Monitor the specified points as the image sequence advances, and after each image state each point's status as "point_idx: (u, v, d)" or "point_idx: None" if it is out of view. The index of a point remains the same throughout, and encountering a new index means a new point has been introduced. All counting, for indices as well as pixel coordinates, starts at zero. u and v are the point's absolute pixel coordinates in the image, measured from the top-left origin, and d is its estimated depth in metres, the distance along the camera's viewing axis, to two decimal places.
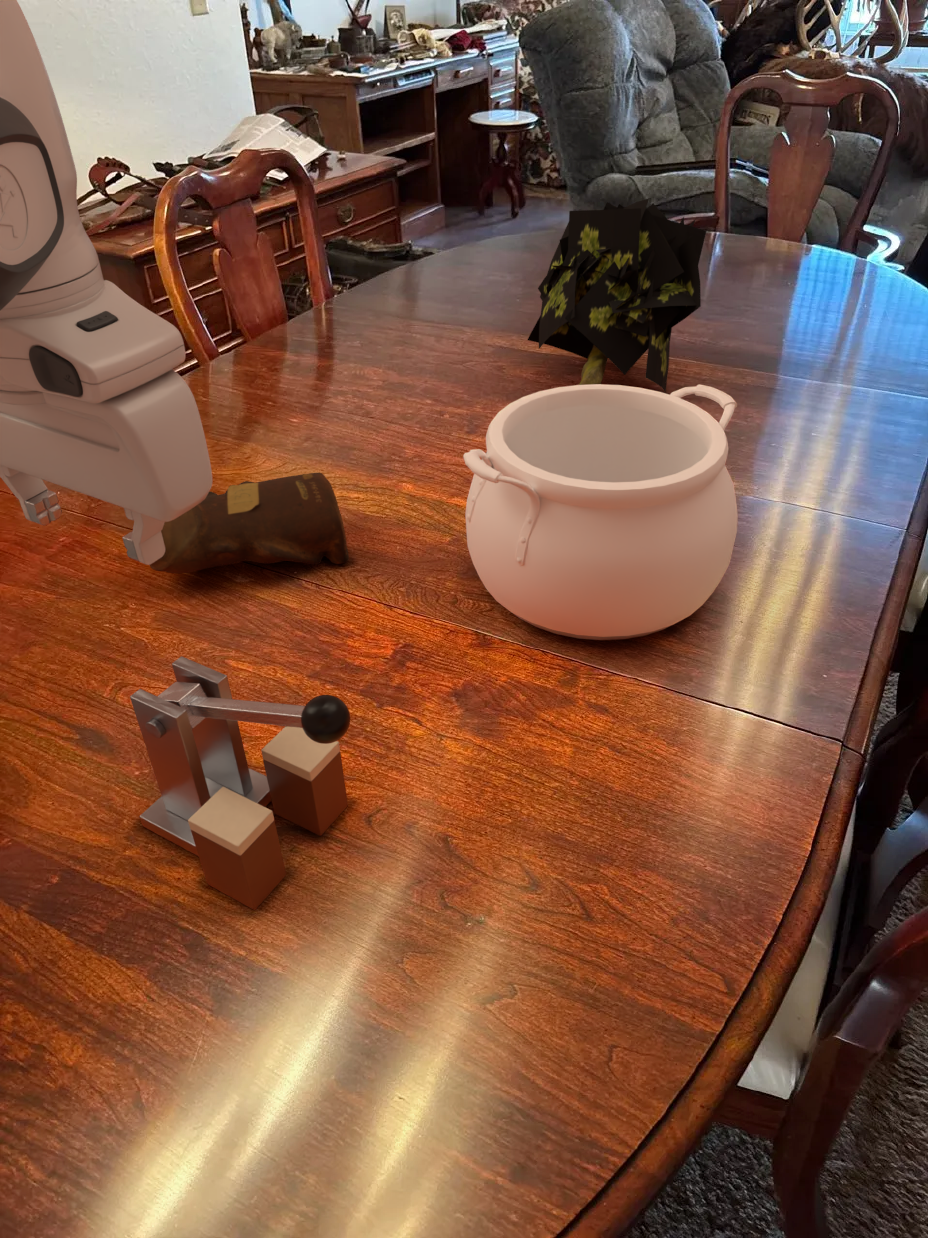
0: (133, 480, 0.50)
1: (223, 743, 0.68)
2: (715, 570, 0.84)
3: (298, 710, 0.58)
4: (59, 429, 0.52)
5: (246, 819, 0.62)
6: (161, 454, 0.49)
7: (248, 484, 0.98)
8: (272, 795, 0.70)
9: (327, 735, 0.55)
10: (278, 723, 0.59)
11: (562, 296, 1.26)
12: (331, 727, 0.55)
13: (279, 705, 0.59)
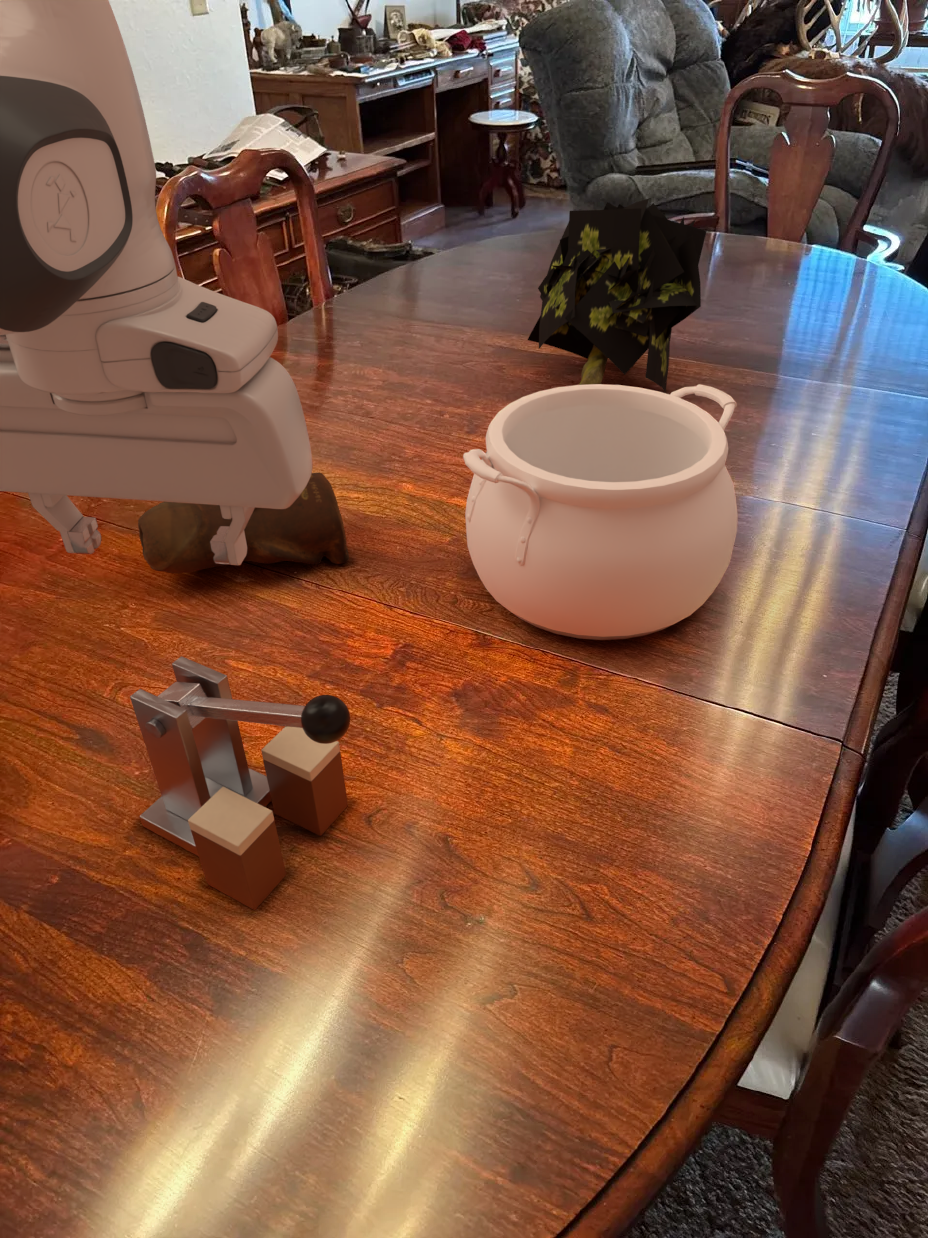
0: (251, 471, 0.49)
1: (223, 743, 0.68)
2: (715, 570, 0.84)
3: (298, 710, 0.58)
4: (147, 436, 0.49)
5: (246, 819, 0.62)
6: (286, 438, 0.48)
7: None
8: (272, 795, 0.70)
9: (327, 735, 0.55)
10: (278, 723, 0.59)
11: (562, 296, 1.26)
12: (331, 727, 0.55)
13: (279, 705, 0.59)
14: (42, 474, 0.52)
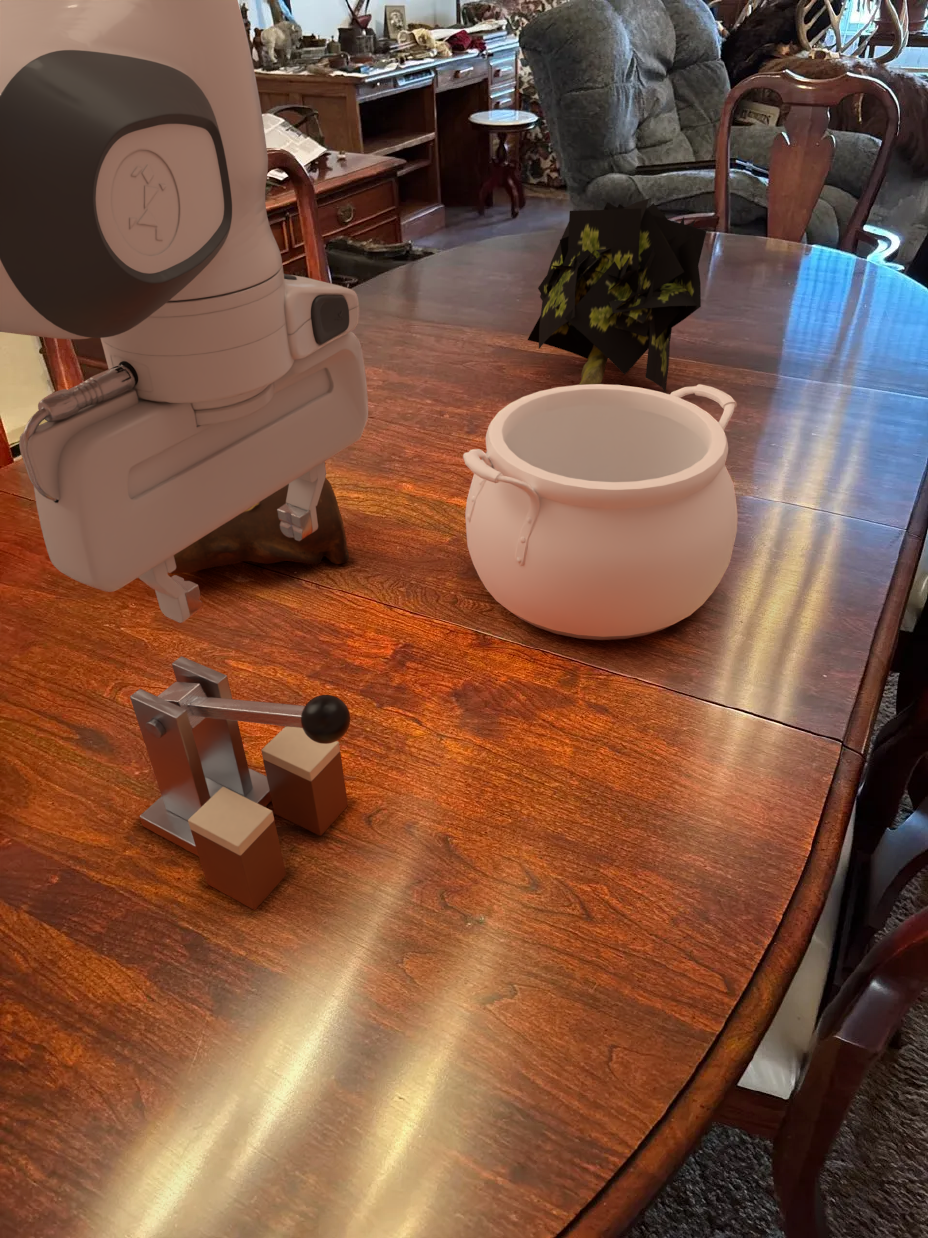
0: (343, 412, 0.53)
1: (223, 743, 0.68)
2: (715, 570, 0.84)
3: (298, 710, 0.58)
4: (267, 422, 0.48)
5: (246, 819, 0.62)
6: None
7: None
8: (272, 795, 0.70)
9: (327, 735, 0.55)
10: (278, 723, 0.59)
11: (562, 296, 1.26)
12: (331, 727, 0.55)
13: (279, 705, 0.59)
14: (184, 524, 0.45)
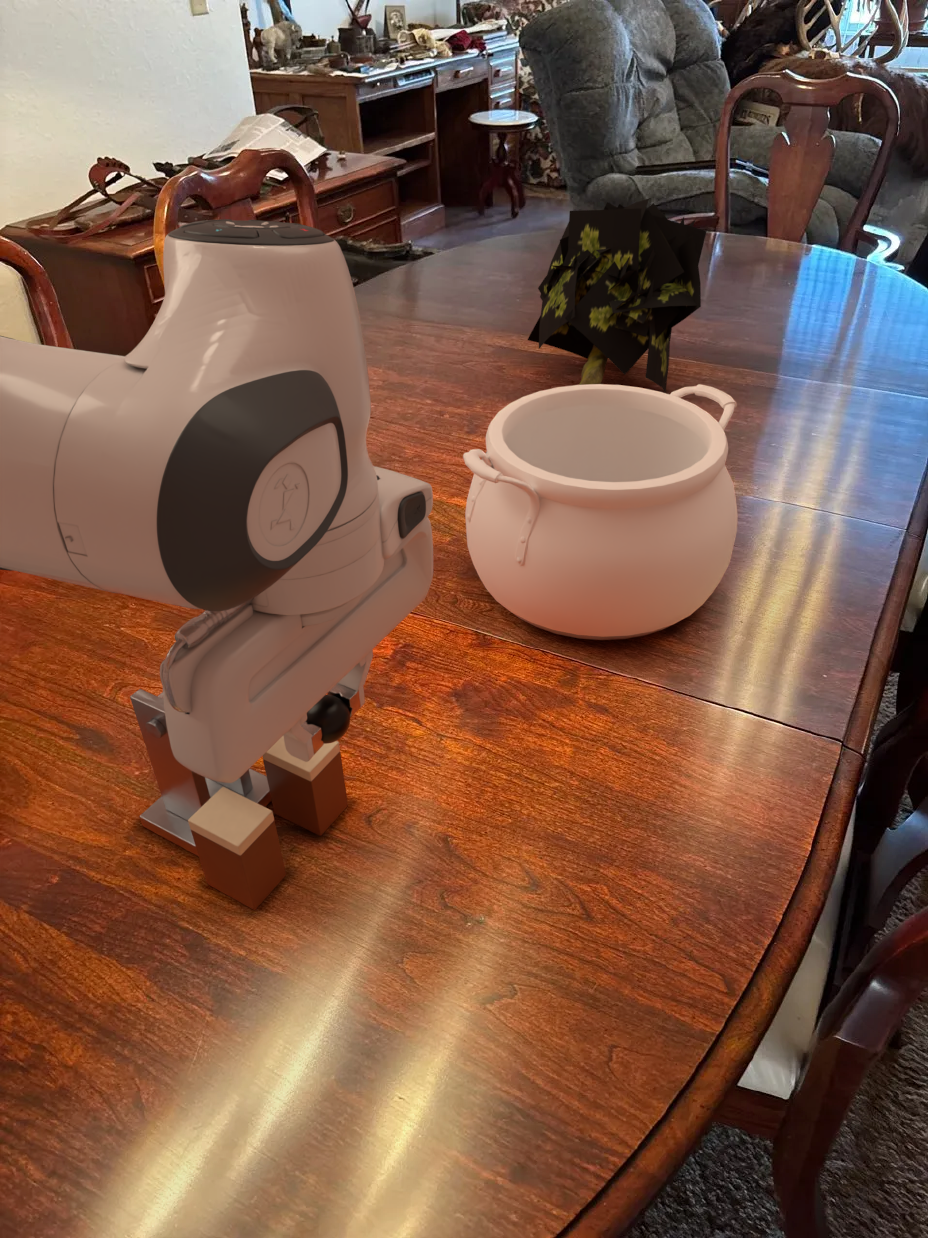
0: (413, 581, 0.57)
1: None
2: (715, 570, 0.84)
3: None
4: (354, 606, 0.53)
5: (246, 819, 0.62)
6: None
7: None
8: (272, 795, 0.70)
9: (327, 735, 0.55)
10: None
11: (562, 296, 1.26)
12: (331, 727, 0.55)
13: None
14: (289, 711, 0.50)
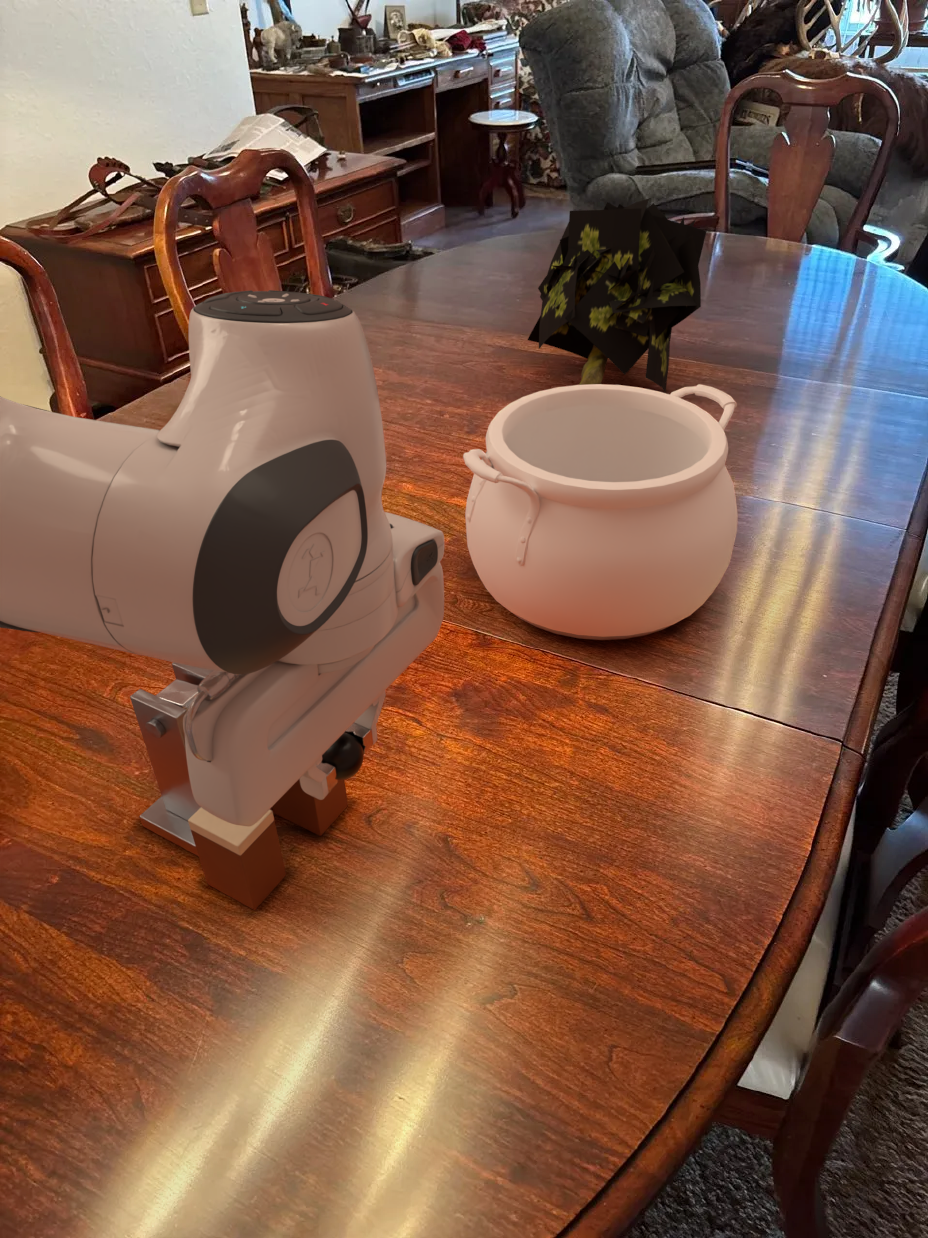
0: (425, 622, 0.59)
1: None
2: (715, 570, 0.84)
3: None
4: None
5: None
6: None
7: None
8: None
9: (342, 775, 0.57)
10: None
11: (562, 296, 1.26)
12: (347, 768, 0.57)
13: None
14: (306, 755, 0.51)
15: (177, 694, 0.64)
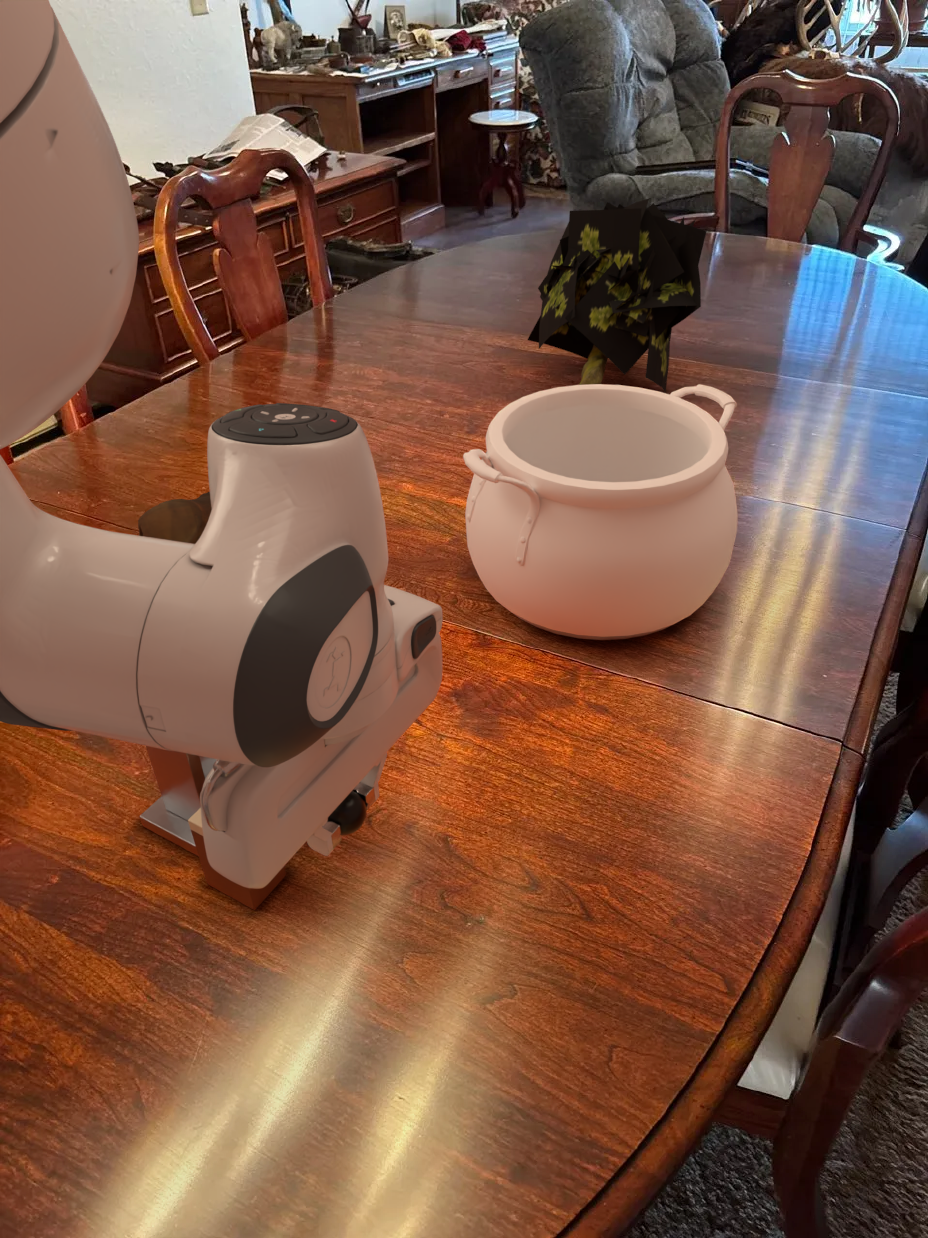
0: (424, 686, 0.62)
1: None
2: (715, 570, 0.84)
3: None
4: None
5: None
6: None
7: None
8: None
9: (344, 834, 0.61)
10: None
11: (562, 296, 1.26)
12: (351, 830, 0.61)
13: None
14: (313, 819, 0.55)
15: None
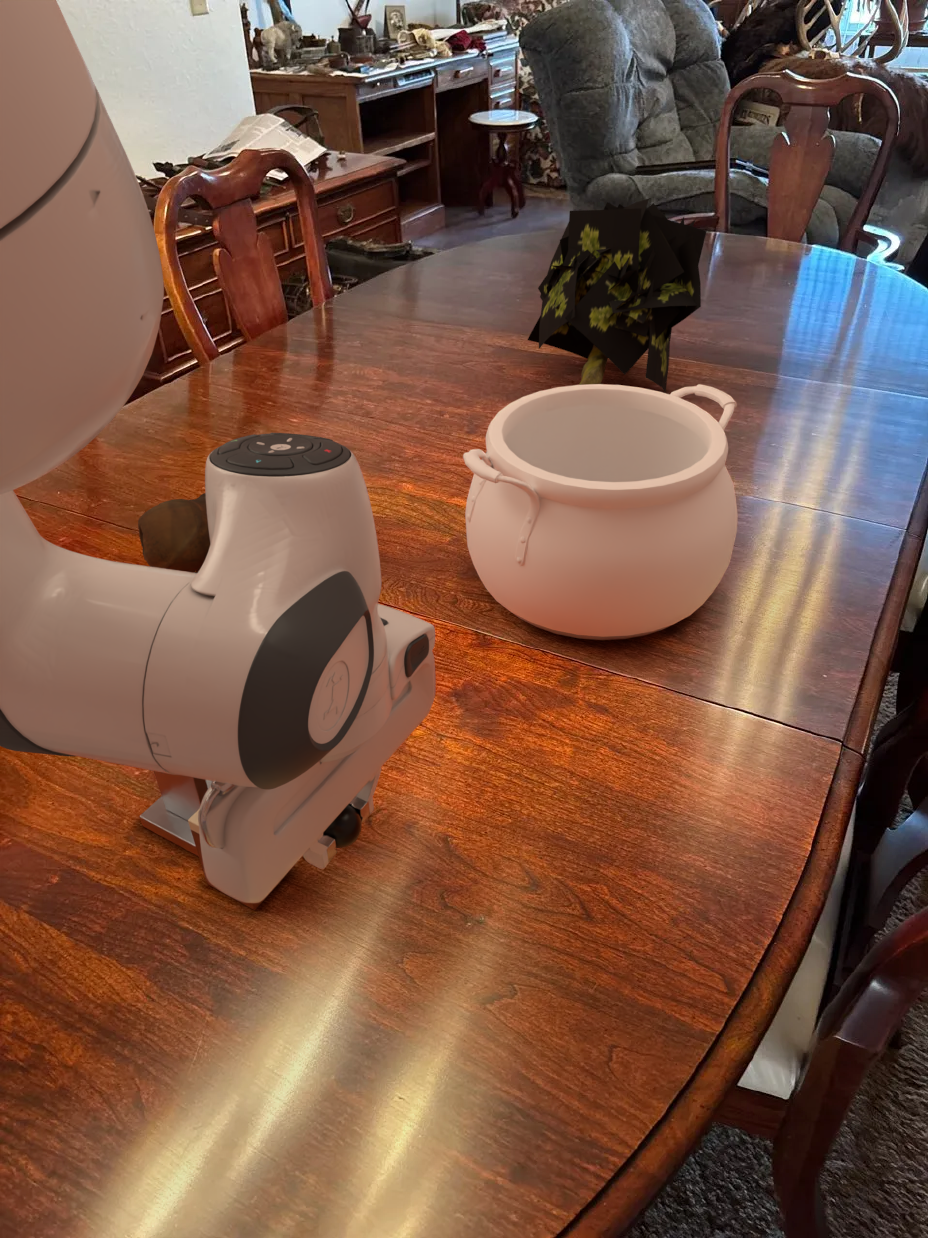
0: (418, 703, 0.64)
1: None
2: (715, 570, 0.84)
3: None
4: None
5: None
6: None
7: None
8: None
9: None
10: None
11: (562, 296, 1.26)
12: (346, 844, 0.62)
13: None
14: (308, 835, 0.56)
15: None
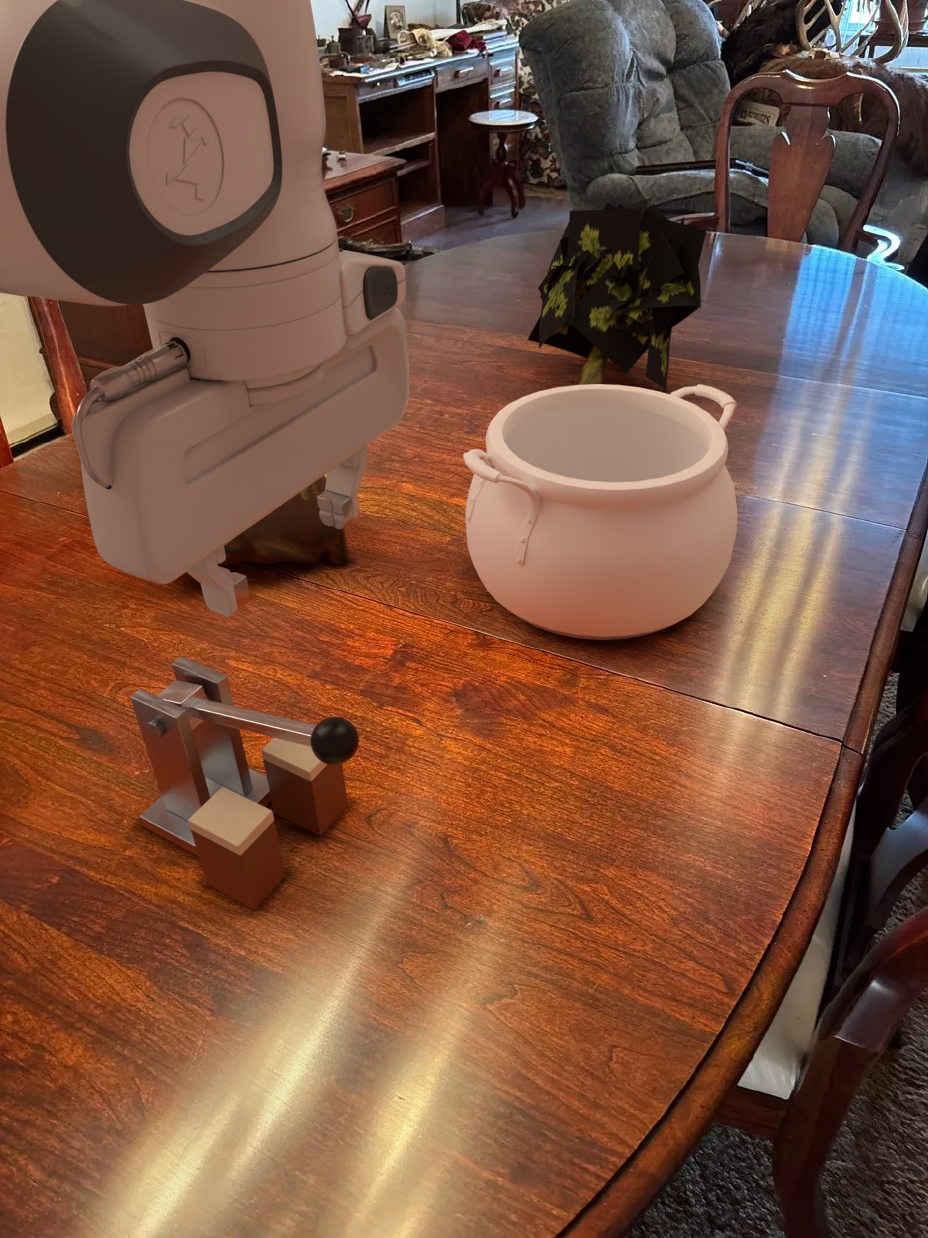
0: (386, 393, 0.50)
1: (223, 743, 0.68)
2: (715, 570, 0.84)
3: (307, 729, 0.58)
4: (315, 403, 0.46)
5: (246, 819, 0.62)
6: None
7: None
8: (272, 795, 0.70)
9: (337, 759, 0.56)
10: (284, 738, 0.59)
11: (562, 296, 1.26)
12: (341, 751, 0.56)
13: (286, 720, 0.60)
14: (236, 510, 0.43)
15: (176, 694, 0.64)
